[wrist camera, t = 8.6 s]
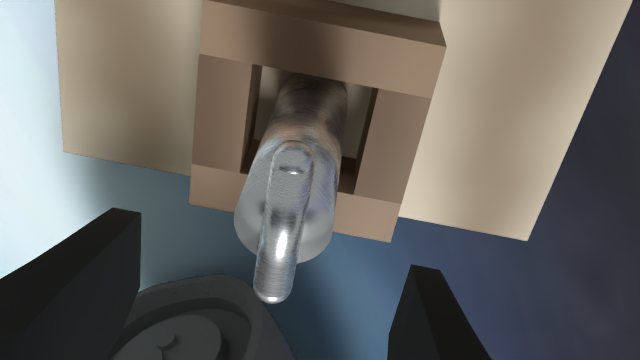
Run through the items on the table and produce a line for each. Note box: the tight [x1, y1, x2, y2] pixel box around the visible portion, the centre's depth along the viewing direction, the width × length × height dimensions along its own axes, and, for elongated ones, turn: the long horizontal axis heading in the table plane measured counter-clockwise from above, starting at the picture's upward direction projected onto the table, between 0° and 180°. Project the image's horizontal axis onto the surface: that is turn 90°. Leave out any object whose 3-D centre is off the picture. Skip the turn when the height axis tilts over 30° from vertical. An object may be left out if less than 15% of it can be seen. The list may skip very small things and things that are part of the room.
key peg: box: [234, 72, 348, 304], centre depth 17 cm, size 2×5×8 cm, turn 171°
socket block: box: [189, 0, 447, 242], centre depth 20 cm, size 7×7×2 cm
